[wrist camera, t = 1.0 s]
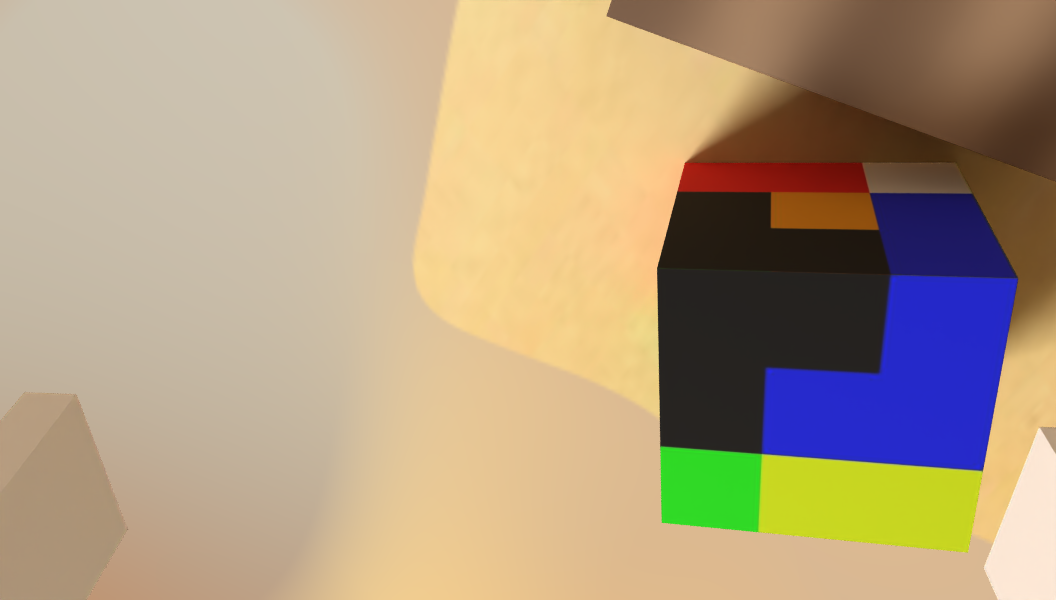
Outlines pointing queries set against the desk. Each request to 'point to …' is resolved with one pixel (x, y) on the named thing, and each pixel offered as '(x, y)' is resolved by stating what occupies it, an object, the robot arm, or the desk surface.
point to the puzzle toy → (829, 350)
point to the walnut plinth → (894, 61)
